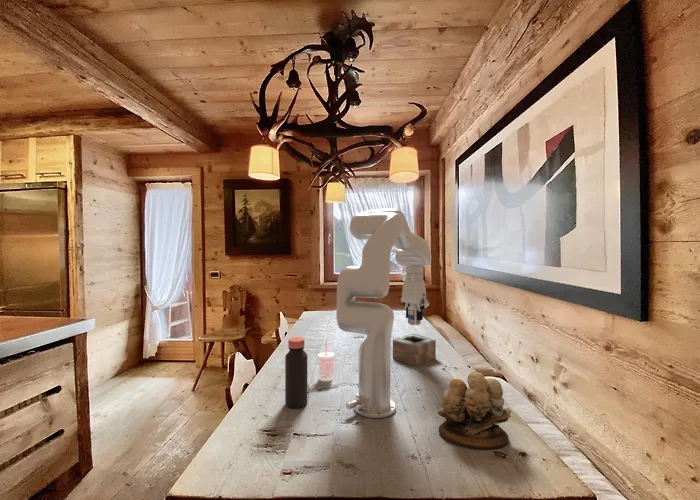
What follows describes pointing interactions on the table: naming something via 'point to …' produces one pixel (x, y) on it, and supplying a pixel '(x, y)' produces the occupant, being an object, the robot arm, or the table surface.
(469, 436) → the owl figurine
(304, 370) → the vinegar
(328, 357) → the beverage cup
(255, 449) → the table surface
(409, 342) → the box
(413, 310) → the pill bottle
